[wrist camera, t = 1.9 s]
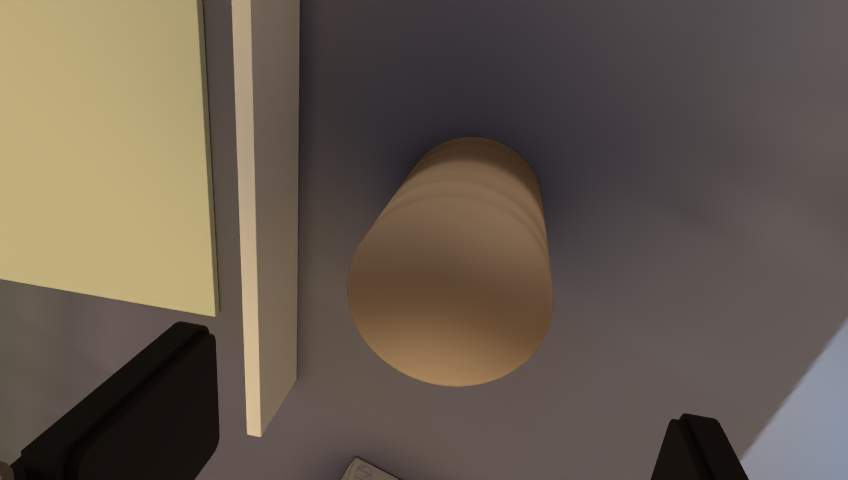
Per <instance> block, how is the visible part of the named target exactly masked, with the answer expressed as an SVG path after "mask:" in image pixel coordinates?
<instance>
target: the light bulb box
mask: <svg viewBox="0 0 848 480" xmlns="http://www.w3.org/2000/svg"><path fill="white" fill-rule="evenodd" d="M341 480H399V479H397V478H395V477H394V476H392V475H390V474H388V473H386V472H384V471H382V470H380V469H378V468H376V467H374V466H372V465H370V464H369V463H367V462H365V461H363V460H361V459H359V458H357V457H355V458H354V460H353V461H352V463H351V464H350V466H349V467H348V469H347V470H346V472H345V474H344V475H343V477H342V479H341Z"/></svg>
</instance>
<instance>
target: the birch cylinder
mask: <svg viewBox="0 0 848 480" xmlns="http://www.w3.org/2000/svg"><path fill="white" fill-rule="evenodd" d="M347 296H348V302H349V307H350V311H351V314H352V317H353V320H354V322H355V324H356V326H357V328H358V330H359V332H360V333H361V335H362V337H363V338H364V340H365V341H366V342H367V344H368V345H369V346H370V347H371V349H372V350H373V351H374V352H375V353H376V354H377V355H378V356H379V357H380V358H382V359H383V360H384V361H386V362H387V363H388V364H389V365H391V366H392V367H394V368H396V369H397V370H399V371H400V372H402V373H404V374H406V375H409V376H411V377H413V378H416V379H419V380H421V381H424V382H428V383H433V384H437V385H445V386H470V385H477V384H482V383H486V382H489V381H492V380H495V379H498V378H500V377H502V376H504V375H507V374H509V373H510V372H512V371H513V370H515V369H517V368H518V367H520V366H521V365H522V364H523V363H524V362H525V361H527V360H528V359H529V358H530V357H531V356H532V354H533V353H534V352H535V351H536V350H537V349H538V347H539V345H540V344H541V342H542V341H543V339H544V337H545V335H546V333H547V331H548V329H549V325H550V322H551V318H552V313H553V306H554V300H553V285H552V277H551V269H550V261H549V252H548V244H547V236H546V228H545V219H544V211H543V203H542V196H541V189H540V186H539V183H538V180H537V178H536V176H535V174H534V172H533V170H532V169H531V167H530V166H529V164H528V163H527V162H526V161H525V160H524V159H523V157H521V156H520V155H519V154H518V153H517V152H516V151H514V150H513V149H511V148H510V147H508V146H506V145H504V144H502V143H500V142H498V141H495V140H492V139H487V138H482V137H461V138H456V139H452V140H449V141H446V142H443V143H441V144H439V145H437V146H435V147H434V148H433V149H431V150H430V151H428V152H427V153H426V154H425V155H424V156H423V157H422V158H421V159H420V160H419V161H418V162H417V164H416V165H415V166H414V168H413V169H412V171H411V172H410V173H409V175H408V176H407V178H406V179H405V180H404V182H403V183H402V185H401V186H400V187H399V189H398V190H397V192H396V193H395V195H394V196H393V197H392V199H391V200H390V202H389V203H388V204H387V206H386V207H385V209H384V210H383V212H382V213H381V214H380V216H379V217H378V219H377V220H376V221H375V223H374V224H373V226H372V227H371V229H370V230H369V231H368V233H367V234H366V236H365V237H364V238H363V240H362V242H361V243H360V245H359V246H358V248H357V250H356V252H355V254H354V256H353V259H352V261H351V265H350V269H349V273H348V281H347Z"/></svg>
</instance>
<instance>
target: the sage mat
mask: <svg viewBox="0 0 848 480" xmlns="http://www.w3.org/2000/svg"><path fill="white" fill-rule="evenodd" d="M0 279H4V280H10V281H16V282H21V283H27V284H33V285H38V286H44V287H50V288H55V289H61V290H67V291H72V292H78V293H84V294H89V295H95V296H101V297H106V298H112V299H118V300H123V301H129V302H135V303H140V304H146V305H152V306H157V307H163V308H169V309H174V310H180V311H186V312H191V313H197V314H203V315H208V316H214V317H216V316H217V315H218V314H219V313H220V311H219V292H218V274H217V256H216V238H215V220H214V202H213V183H212V165H211V147H210V129H209V111H208V92H207V74H206V56H205V38H204V20H203V2H202V0H0Z"/></svg>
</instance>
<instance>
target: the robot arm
mask: <svg viewBox="0 0 848 480" xmlns="http://www.w3.org/2000/svg"><path fill="white" fill-rule="evenodd" d="M218 442H219V411H218V386H217V361H216V340H215V336H214V335H213V334H209V330H208V328H207V327H206V326H203V325H198V324H192V323H187V322H177V323H175V324H174V325H172V326H171V327H170V328H169V329H168V330H166V331H165V332H164V333H163V334H162V335H160V336H159V337H158V338H157V339H156V340H154V341H153V342H152V343H151V344H150V345H148V346H147V347H146V348H145V349H143V350H142V351H141V352H140V353H139V354H137V355H136V356H135V357H134V358H133V359H131V360H130V361H129V362H128V363H127V364H125V365H124V366H123V367H122V368H121V369H119V370H118V371H117V372H116V373H115V374H113V375H112V376H111V377H110V378H109V379H107V380H106V381H105V382H104V383H102V384H101V385H100V386H99V387H98V388H96V389H95V390H94V391H93V392H92V393H90V394H89V395H88V396H87V397H86V398H84V399H83V400H82V401H81V402H80V403H78V404H77V405H76V406H75V407H74V408H72V409H71V410H70V411H69V412H68V413H66V414H65V415H64V416H63V417H61V418H60V419H59V420H58V421H57V422H55V423H54V424H53V425H52V426H51V427H49V428H48V429H47V430H46V431H45V432H43V433H42V434H41V435H40V436H39V437H37V438H36V439H35V440H34V441H33V442H31V443H30V444H29V445H28V446H26V447H25V448H24V449H23V450H22V451H21V455H22V456H21V457H20V458H18V459H17V460H16V461H15V462H14V463H12V464H11V465H10V466H9V465H8V464H7V463H5V462H2V461H0V480H194V479H195V478H196V477H197V475H198V474H199V473H200V471H201V470H202V469H203V467H204V466H205V465H206V463H207V462H208V460H209V459H210V458H211V456H212V455H213V454H214V452H215V450H216V448H217V445H218ZM651 480H749V479H748V477H747V475H746V474H745V471H744V470H743V468H742V466H741V464H740V462H739V460H738V458H737V456H736V454H735V452H734V450H733V448H732V446H731V444H730V442H729V440H728V439H727V437H726V435H725V433H724V431H723V429H722V427H721V425H720V423H719V422H718V420H716V419H714V418H708V417H703V416H697V415H692V414H686V413H685V414H682V416H681V417H680V419H679V420H677V419H672V420H671V421H670V423H669V425H668V428H667V431H666V434H665V437H664V440H663V443H662V446H661V449H660V453H659V456H658V459H657V462H656V465H655V468H654V471H653V474H652V477H651Z"/></svg>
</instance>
